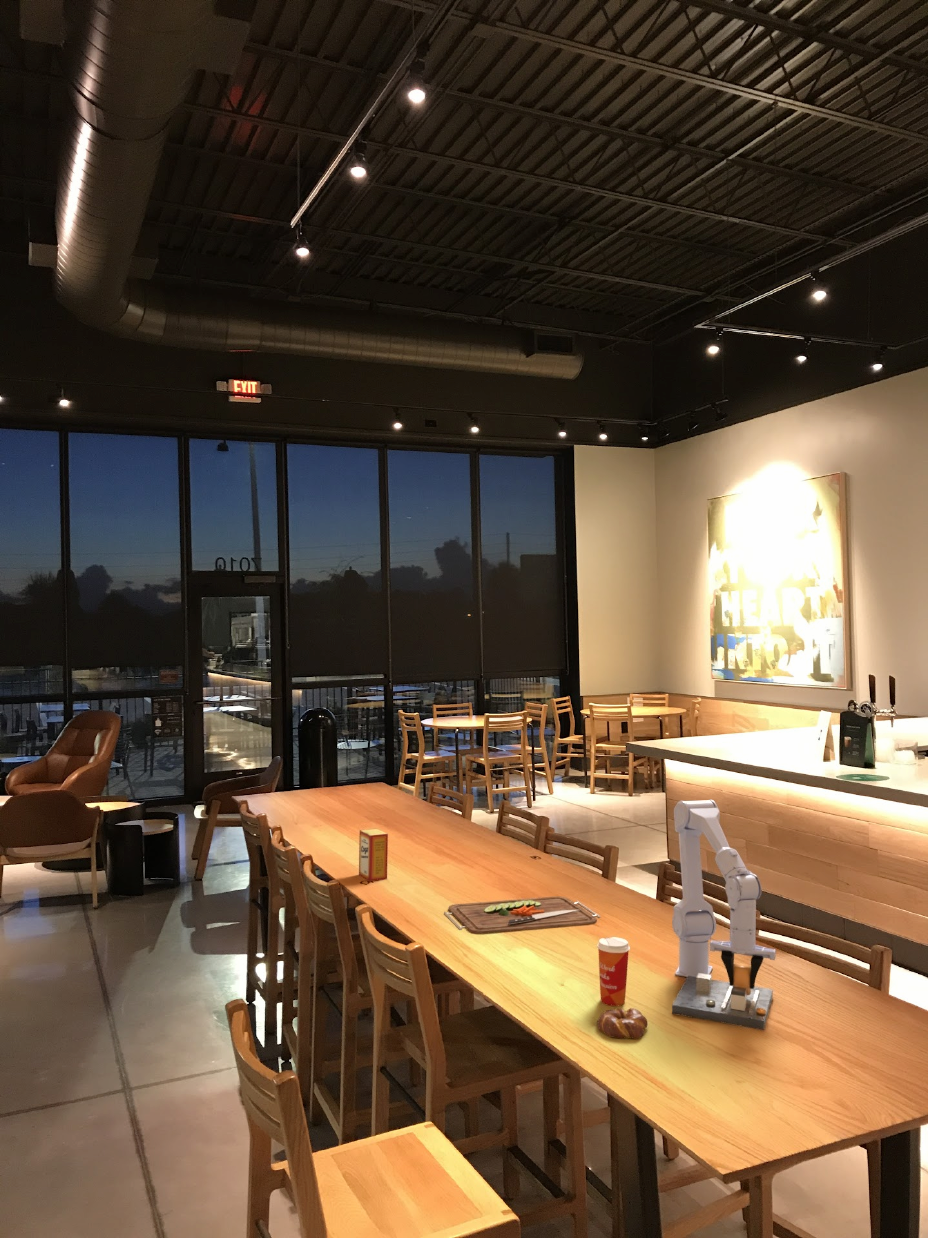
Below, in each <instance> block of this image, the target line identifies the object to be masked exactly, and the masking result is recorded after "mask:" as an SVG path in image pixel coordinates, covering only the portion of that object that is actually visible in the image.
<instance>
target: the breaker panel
mask: <svg viewBox="0 0 928 1238" xmlns="http://www.w3.org/2000/svg"><path fill="white" fill-rule="evenodd" d="M732 987H733V986H731V985H730V982H729V981H723V980H717V979H713V978H712V974H710V975H708V974H701V973H698V975H697V977H693V976H687V977H686V978H685V980H684V982H683V984H682V986H681V988H680V990H679V992H678V993H677V995H676V997H675V999H674V1001H673V1002H672V1004H671V1006H672V1007H671V1014H672V1015H676V1016H677V1015H678V1016H684V1017H689V1018H695V1019H698V1020H704V1021H705V1020H706V1021H711V1022H715V1023H716V1022H717V1023H723V1024H728V1025H733V1026H740V1027H745V1028H750V1029H757V1030H760V1031H764V1030H765V1027H766V1024H767V1020H768V1016H769V1013H770V1008H771V1005H772V1002H773V997H774V995H773V992H774V989H773V988H769V987H768V988H767V987H762V986H761V987H760V986H754V989H751V994H750V995H746V1008H745V1011H742V1010H736V1009H731V990H732Z"/></svg>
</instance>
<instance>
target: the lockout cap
mask: <svg viewBox="0 0 928 1238" xmlns="http://www.w3.org/2000/svg"><path fill="white" fill-rule="evenodd" d="M750 983H751V964H750V965H749V964H747V963H742V962H741V963H740V962H737V963H734V965H733V986H735V987H741V988H746V995H750V994H751V989H750Z"/></svg>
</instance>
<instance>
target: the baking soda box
mask: <svg viewBox="0 0 928 1238" xmlns="http://www.w3.org/2000/svg"><path fill="white" fill-rule="evenodd" d="M388 836H389V834H388V833H387V832H385V831H382V830H380V829H378V828H372V829H371V828H369V829H361V830H360V829H359V838H358V839H359V844H358V845H359V847H358V849H359V850H358V853H359V854H358V856H359V857H358V875H359V876H360V877H362V878H364V879H365V880H366V881H369V882H374V881H382V880H383V881H384V880H388V849H389V848H388V843H389V839H388V838H389V837H388Z"/></svg>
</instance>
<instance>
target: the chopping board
mask: <svg viewBox="0 0 928 1238" xmlns="http://www.w3.org/2000/svg"><path fill="white" fill-rule="evenodd" d="M443 914H444V915H445V916H446V917H447V918H448V919H449V920H450V921H451V922H452V923H453V924H454V925H455V926H456V928H457V929H459V931H460V930H461V931H462V930H463V929H466V930H467V931H468V932H470V933H472V934H478V935H485V934H495V933H496V934H497V933H508V932H522V931H529V930H541V929H552V928H565V927H574V926H575V927H576V926H588V925H595V924H596V923H598V918H599V919H600V918H601V915H599V914H598V913H597V912H595V911H593V910H592V909H590V908H589V907H588V906H586V905H584V904H583V903H581V902H580V901H579V900H576V901H575V902H573V900H571V899H569V898H568V897H564V896H545V897H544V896H543V897H532V898H531V897H530V898H522V899H521V898H518V899H508V900H507V899H506V900H494V901H482V902H469V903H457V904H456V903H455V904H451V905H449V906H448V912H446V911H443ZM451 915H452V916H454V917H455V918H456V919H457V921H459V923H460V924H461V925H462V926H461V925H460V924H458V923H457V921H455V919H454V918H452V916H451Z"/></svg>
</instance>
